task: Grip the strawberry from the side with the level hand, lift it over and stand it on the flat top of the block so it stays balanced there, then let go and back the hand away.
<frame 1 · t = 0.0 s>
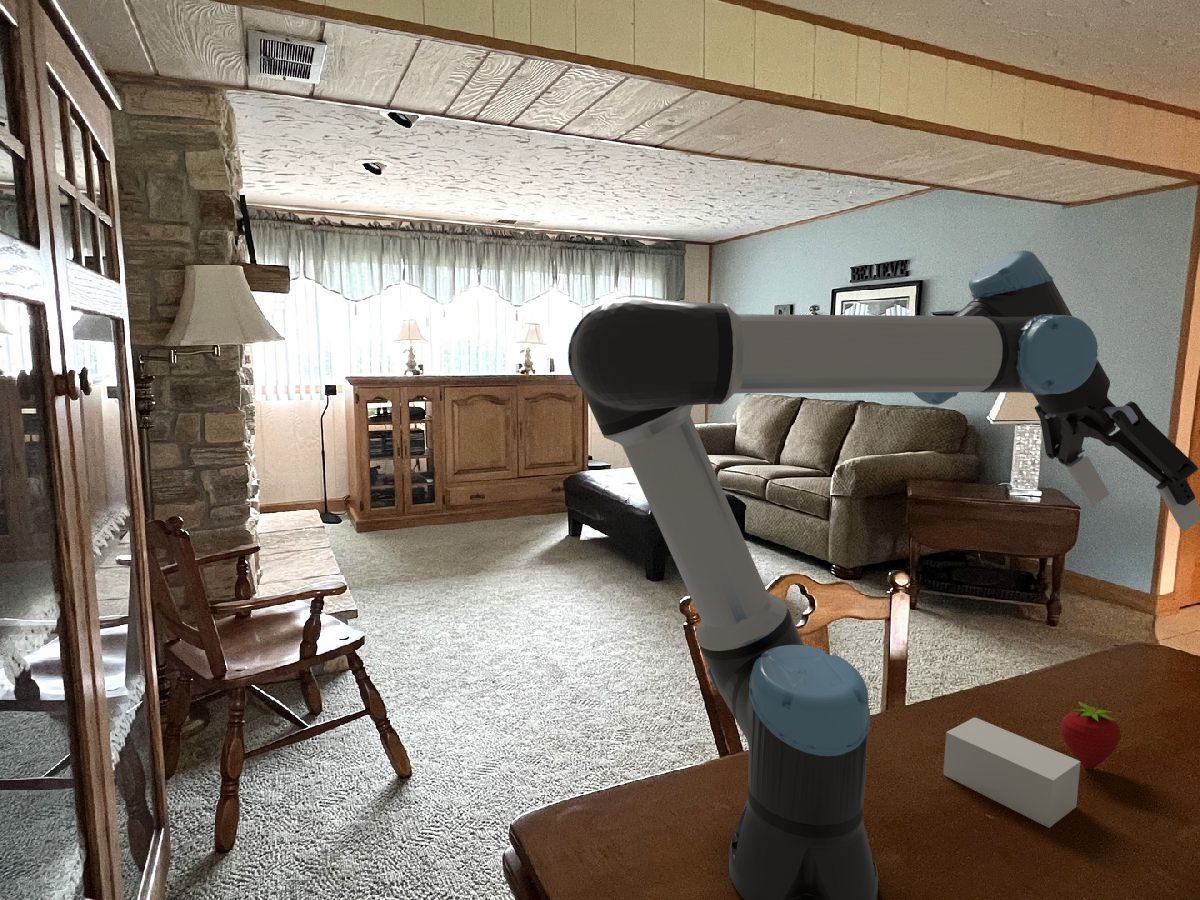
hand: (1142, 510, 89), 36 cm above the table, tool tilted 35°, fingers open, 13 cm apart
block: (1007, 790, 91), on the table
strawberry: (1086, 769, 96), on the table
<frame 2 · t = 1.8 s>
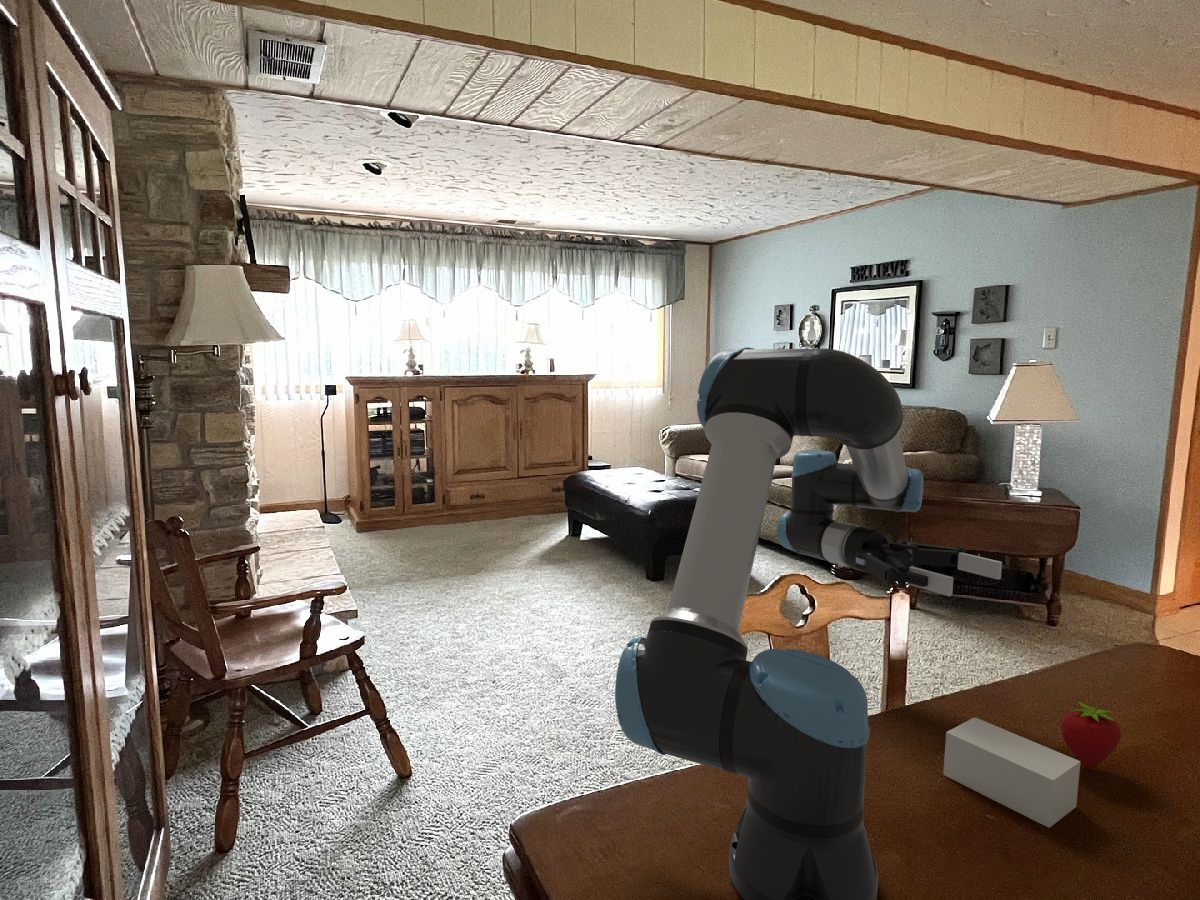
hand: (977, 578, 107), 22 cm above the table, tool horizontal, fingers open, 13 cm apart
nothing on the table moved.
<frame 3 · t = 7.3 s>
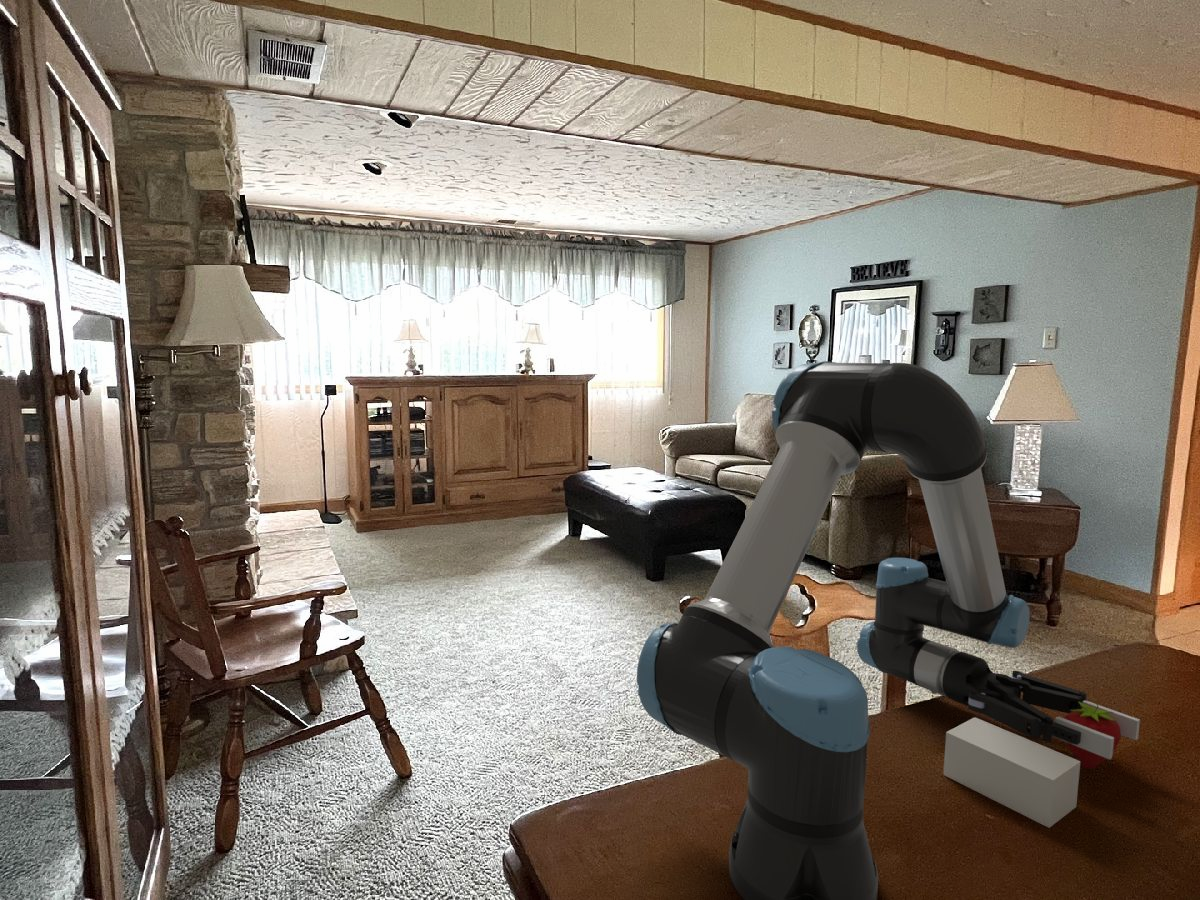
hand: (1124, 738, 92), 6 cm above the table, tool horizontal, fingers closed on strawberry, 7 cm apart
strawberry: (1086, 769, 96), on the table, touching gripper
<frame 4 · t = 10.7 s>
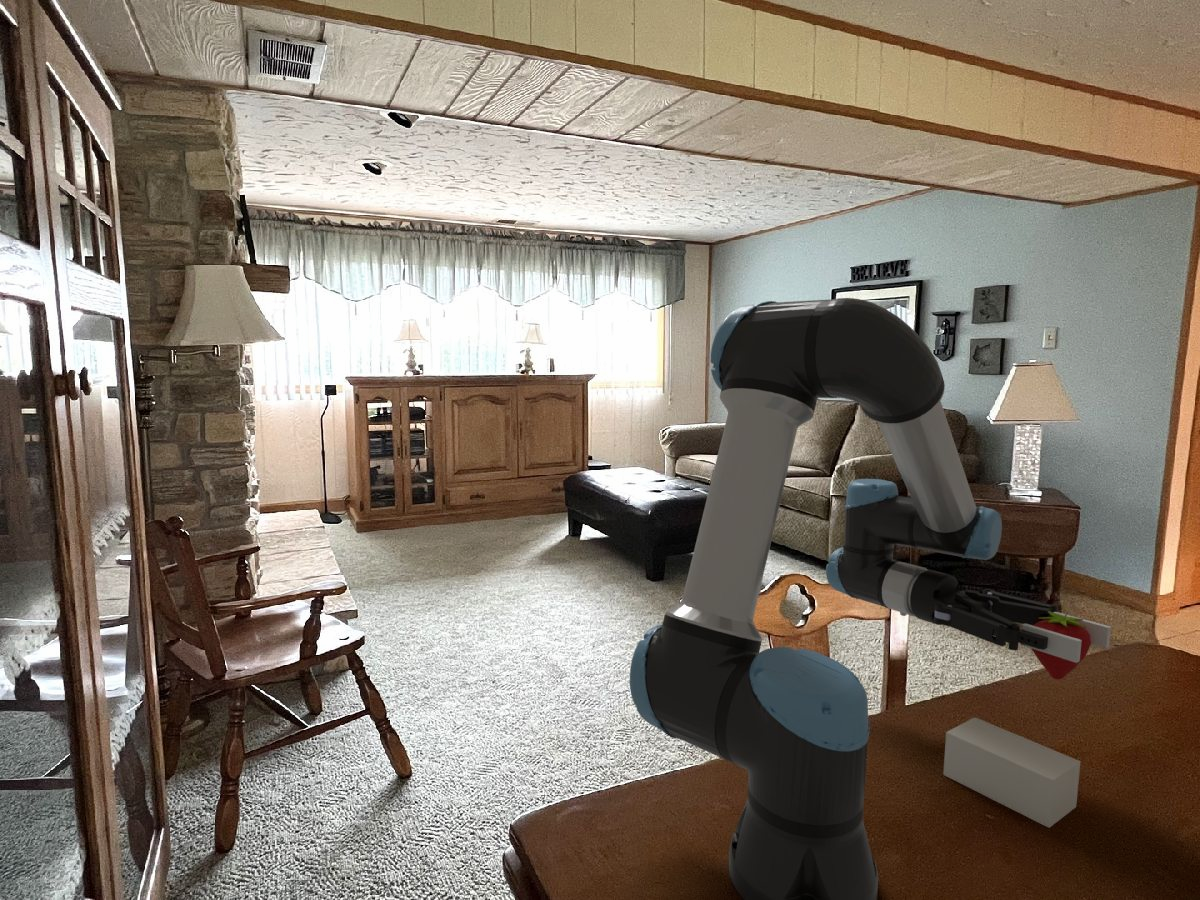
hand: (1093, 644, 88), 20 cm above the table, tool horizontal, fingers closed on strawberry, 7 cm apart
strawberry: (1055, 680, 92), point 14 cm above the table, touching gripper
when the fingers open (13 cm above the table, at t = 14.2 s): strawberry drops 1 cm, resting on block.
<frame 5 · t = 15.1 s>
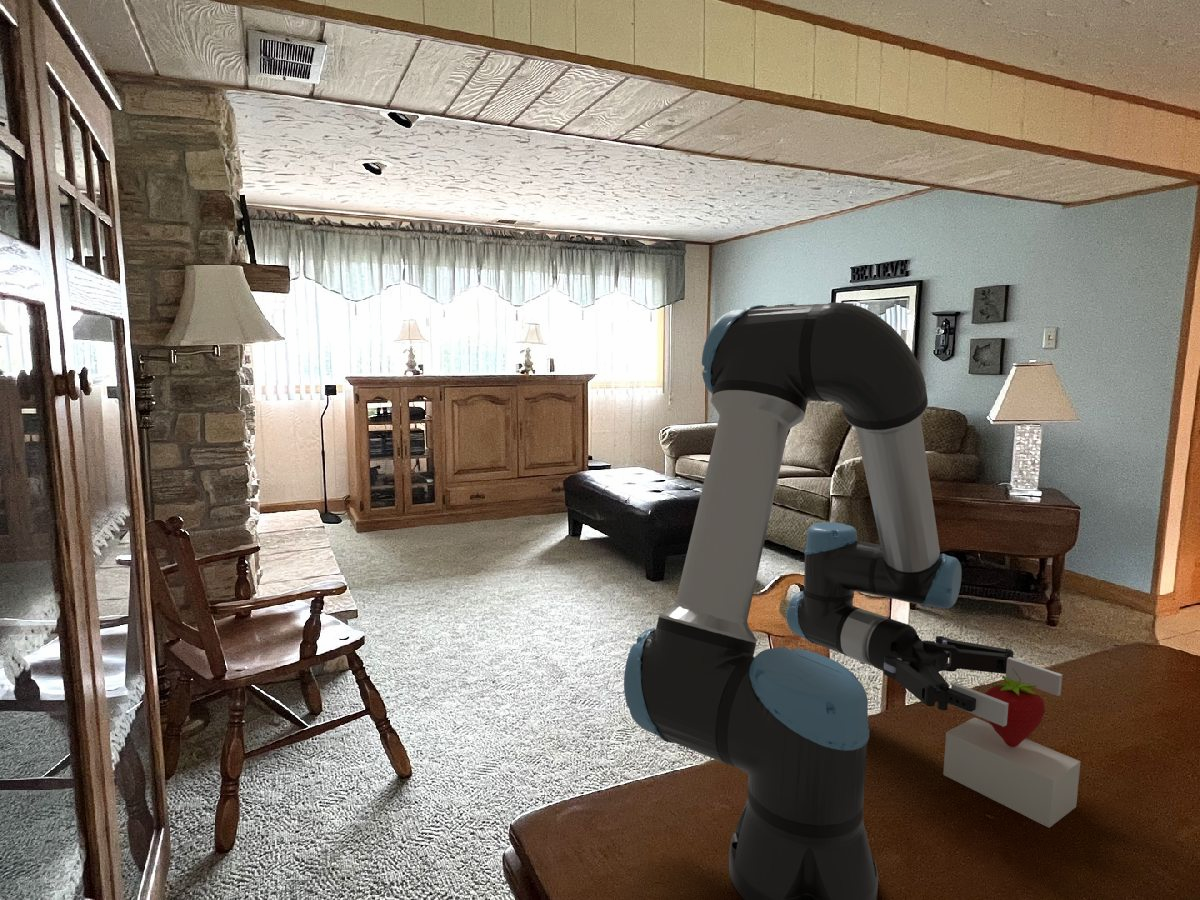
hand: (1034, 699, 88), 13 cm above the table, tool horizontal, fingers open, 13 cm apart
strawberry: (1010, 747, 91), point 6 cm above the table, touching block
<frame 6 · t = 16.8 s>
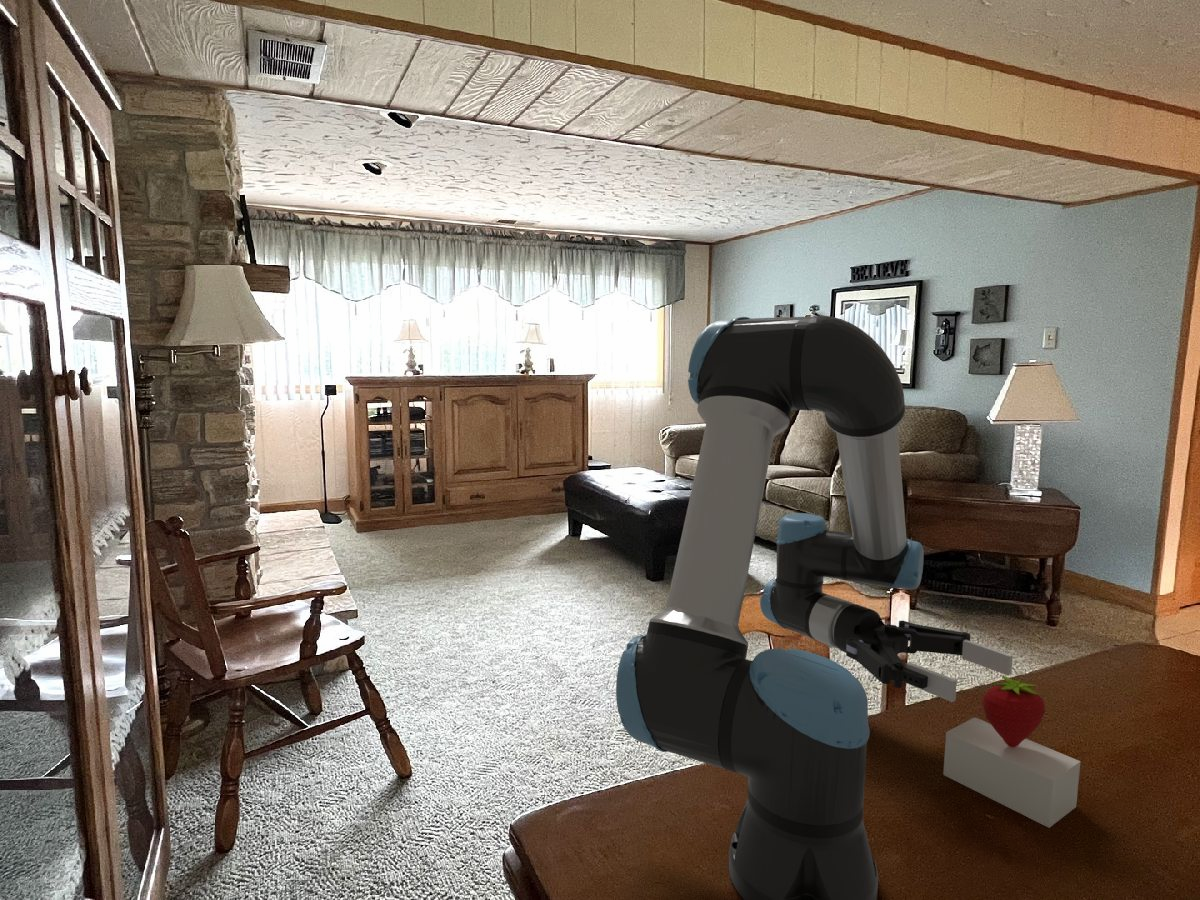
hand: (984, 678, 93), 13 cm above the table, tool horizontal, fingers open, 13 cm apart
nothing on the table moved.
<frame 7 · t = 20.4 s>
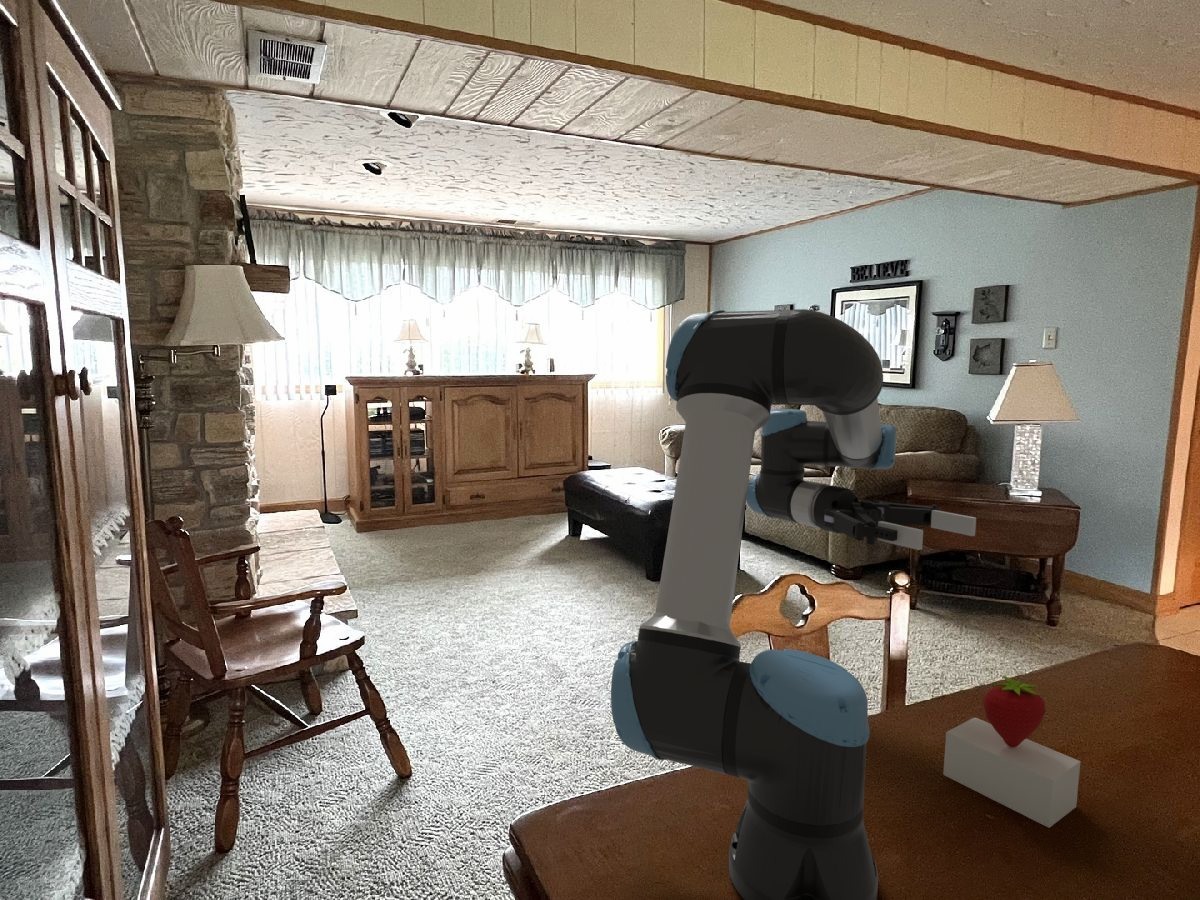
hand: (949, 533, 102), 30 cm above the table, tool horizontal, fingers open, 13 cm apart
nothing on the table moved.
at the end: strawberry inside the target area on the block (0.1 cm from its centre), point 5.8 cm above the block's base; strawberry tilted 0°; the gripper is holding nothing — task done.
